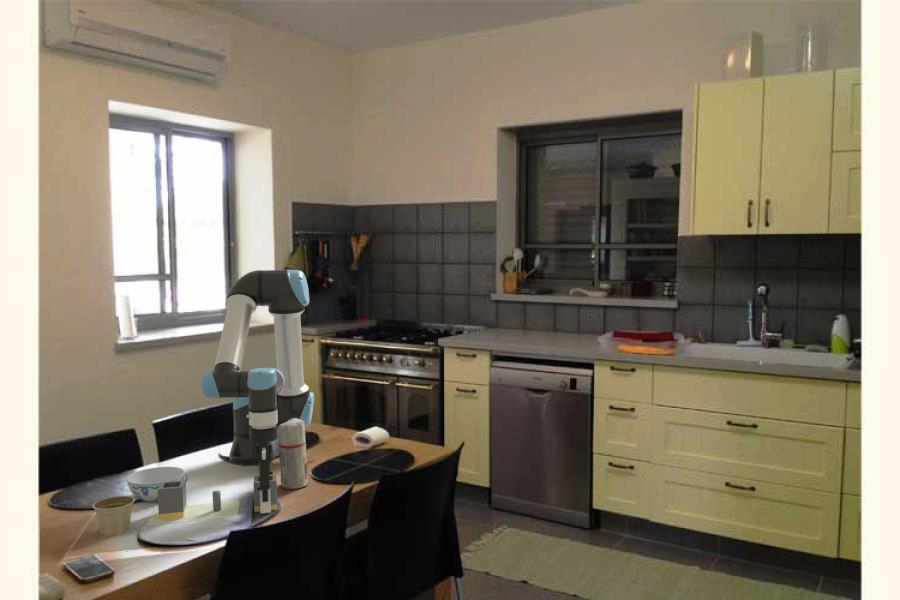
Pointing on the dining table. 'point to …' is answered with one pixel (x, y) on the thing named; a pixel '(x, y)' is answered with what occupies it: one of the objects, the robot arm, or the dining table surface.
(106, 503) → the flower pot
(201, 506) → the pin board
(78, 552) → the dining table surface
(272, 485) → the sleeve
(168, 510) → the sleeve seated
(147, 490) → the chinaware
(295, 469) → the spray can
